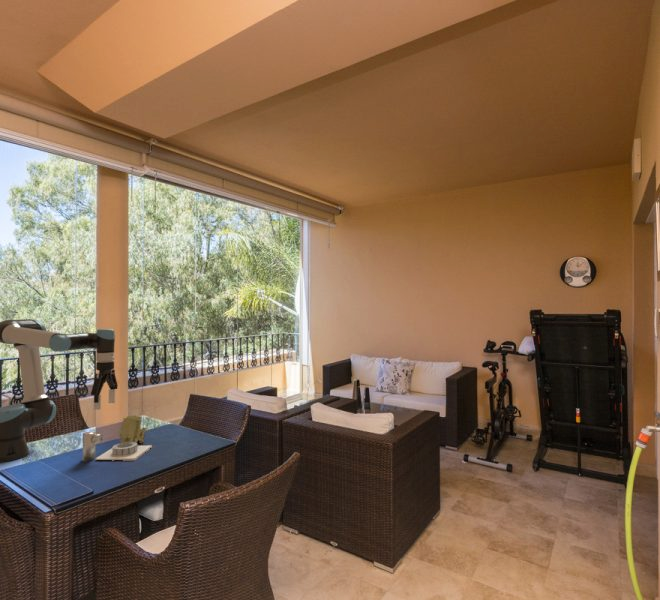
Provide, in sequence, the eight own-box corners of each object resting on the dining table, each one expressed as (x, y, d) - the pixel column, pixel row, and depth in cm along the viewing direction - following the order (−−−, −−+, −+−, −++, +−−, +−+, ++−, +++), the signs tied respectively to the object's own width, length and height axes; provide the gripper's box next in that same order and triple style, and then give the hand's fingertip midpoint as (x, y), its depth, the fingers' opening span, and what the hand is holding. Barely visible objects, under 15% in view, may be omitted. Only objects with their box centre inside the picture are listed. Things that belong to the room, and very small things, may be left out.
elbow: (80, 461, 186) (80, 434, 186) (86, 457, 191) (87, 431, 191) (96, 461, 186) (97, 434, 186) (103, 457, 191) (103, 431, 191)
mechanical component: (145, 454, 214) (153, 415, 223) (127, 451, 198) (137, 409, 207) (131, 454, 215) (140, 415, 223) (112, 451, 199) (122, 409, 208)
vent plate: (95, 460, 186) (95, 452, 186) (116, 447, 204) (116, 439, 204) (134, 460, 186) (134, 451, 186) (152, 447, 204) (152, 439, 204)
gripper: (99, 364, 184) (99, 412, 183) (125, 358, 209) (124, 400, 208) (82, 364, 184) (81, 412, 183) (110, 358, 208) (109, 400, 208)
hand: (104, 406), depth 196 cm, fingers open, 13 cm apart
